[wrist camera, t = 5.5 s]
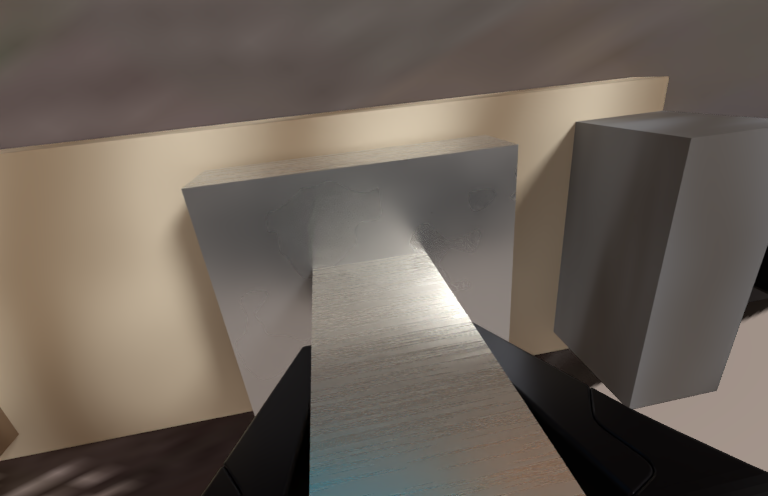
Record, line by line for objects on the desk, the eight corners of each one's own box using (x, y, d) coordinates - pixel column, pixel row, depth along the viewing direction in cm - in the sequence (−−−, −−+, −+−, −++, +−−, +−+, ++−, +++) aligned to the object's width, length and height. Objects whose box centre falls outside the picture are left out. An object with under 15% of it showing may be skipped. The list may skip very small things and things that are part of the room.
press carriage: (485, 134, 11) (944, 270, 3) (482, 351, 14) (698, 695, 6) (204, 170, 10) (-220, 501, 2) (269, 392, 14) (200, 856, 5)
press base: (632, 77, 13) (827, 73, 8) (594, 318, 17) (708, 413, 12) (-163, 168, 10) (-603, 245, 5) (17, 427, 14) (-140, 608, 10)
